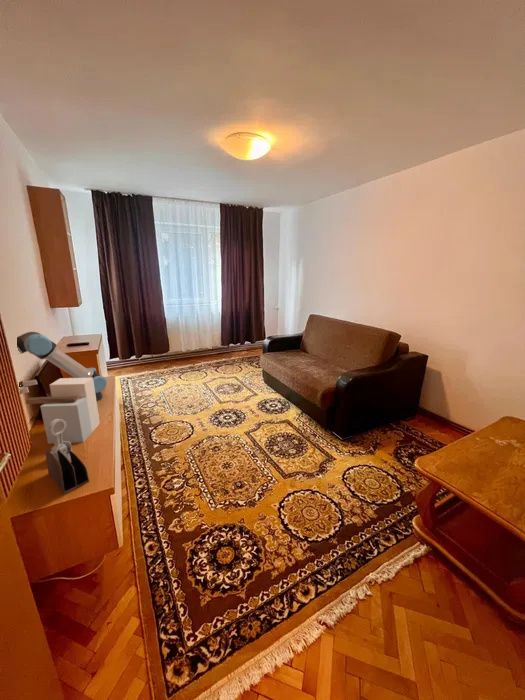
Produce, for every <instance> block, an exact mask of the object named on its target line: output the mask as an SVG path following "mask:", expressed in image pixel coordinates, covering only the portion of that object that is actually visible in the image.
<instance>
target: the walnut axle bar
mask: <svg viewBox="0 0 525 700" xmlns="http://www.w3.org/2000/svg"><path fill="white" fill-rule="evenodd" d="M76 401H77V396H66V397H52V396H39V397H38V396H36V397H34V396H33V397H27V398H26V399H25V404H26V405H32V404H33V405H34V404H36V405H38V404H41V405H42V404H45V403H74V402H76Z"/></svg>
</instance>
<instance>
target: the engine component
mask: <svg viewBox="0 0 525 700" xmlns="http://www.w3.org/2000/svg"><path fill="white" fill-rule="evenodd" d="M57 422H60V423H61V428H60V430H59V431H58V432H57V433H54V432H53V427H54V425H55V424H56V423H57ZM65 428H66V421H64V420H62V419H55V420H53V421H52V422H51V423H50V425H49V427H48V429H47V431H48V436H50V435H52V436H54V443H53V444H54V446H52V447H51V448H50V450H51V451H49V452H50V453H51V454H52V455H53V456H54V457H55V458H56V460H57V461H58V463H59V458H58V452H57V451H58V450H59V451H60V452H62V453H63V454H64V455H65V457H66V458H67V459H68V460H69V461H70V460H71V458H70V453H69V451H72V452H73V448H72V447H73V446H72V443H71V442H69V441H63V438H62V433H63V432H64V430H65ZM59 464H60V463H59Z"/></svg>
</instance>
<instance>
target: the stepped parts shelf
mask: <svg viewBox="0 0 525 700" xmlns="http://www.w3.org/2000/svg"><path fill="white" fill-rule="evenodd" d="M49 390H50V395H51V397H66V396H77V401H76V402H74V403H42V404H41V405H40V406H39V407H40V411H41V416H42V421H43V427H44V430H45V435H46V440H47V444H49V445H50V444H54V436H52V435H50V436H48V431H47V429H48V427H49V425H50V423H51V422H52V421H53V420H55V419H62V420H64V421H66V428H65V430H64V432H63V433H62V438H63V441H69V442H71V444H72V443H84V442H85V440H87V438H89V436H90V435H91V434H92V433H93V432H94V431H95V429H97V427H98V426H99V425H100V424H101V422H100V416H99V410H98V408H99V407H98V401H96V394H95V388H94V381H93V378H75V377H63V378H62V377H60V378H58V379H56V380H55V381H54V382H52V383H50V384H49ZM60 428H61V423H60V422H57V423H56V424H55V425H54V427H53V432H54V433H57V432H58V431H59V430H60Z"/></svg>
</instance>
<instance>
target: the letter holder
mask: <svg viewBox="0 0 525 700" xmlns="http://www.w3.org/2000/svg"><path fill="white" fill-rule="evenodd" d="M44 452H45V461H46V465H47V473H48V475H49V476H50V478H52V480H53V482H54V483H55V484H56V486H57V487H58V489H59V490H60V491H61V493H62V494H63V495H65V493H66V494H67V492H68V493H70V492H71V490H72V491H73V489H74V490H76V489H77V487H78V488H80V487H81V485H82V486H84V485H85V483H86V484H88V483H89V482H90V478H89V474H88V470H87V467H86V465H85V464H84V463H83V461H82V460H81V459H80V458H79V456H78V455H77V454H75V453H74V451H73V450H72V451H69V453H70V458H71V459H69V460H68V459H67V458H66V457H65V455H64V454H63V453H62V452H60V451H59V450H58V451H57V452H58V458H59V463H60V464H59V463H58V461H57V460H56V458H55V457H54V456H53V455H52V454H51V453H50V452H51V451H50V450H48V449H47V448H46V449H44ZM87 482H88V483H87ZM83 484H84V485H83ZM79 486H80V487H79ZM75 488H76V489H75ZM69 491H70V492H69Z"/></svg>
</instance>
